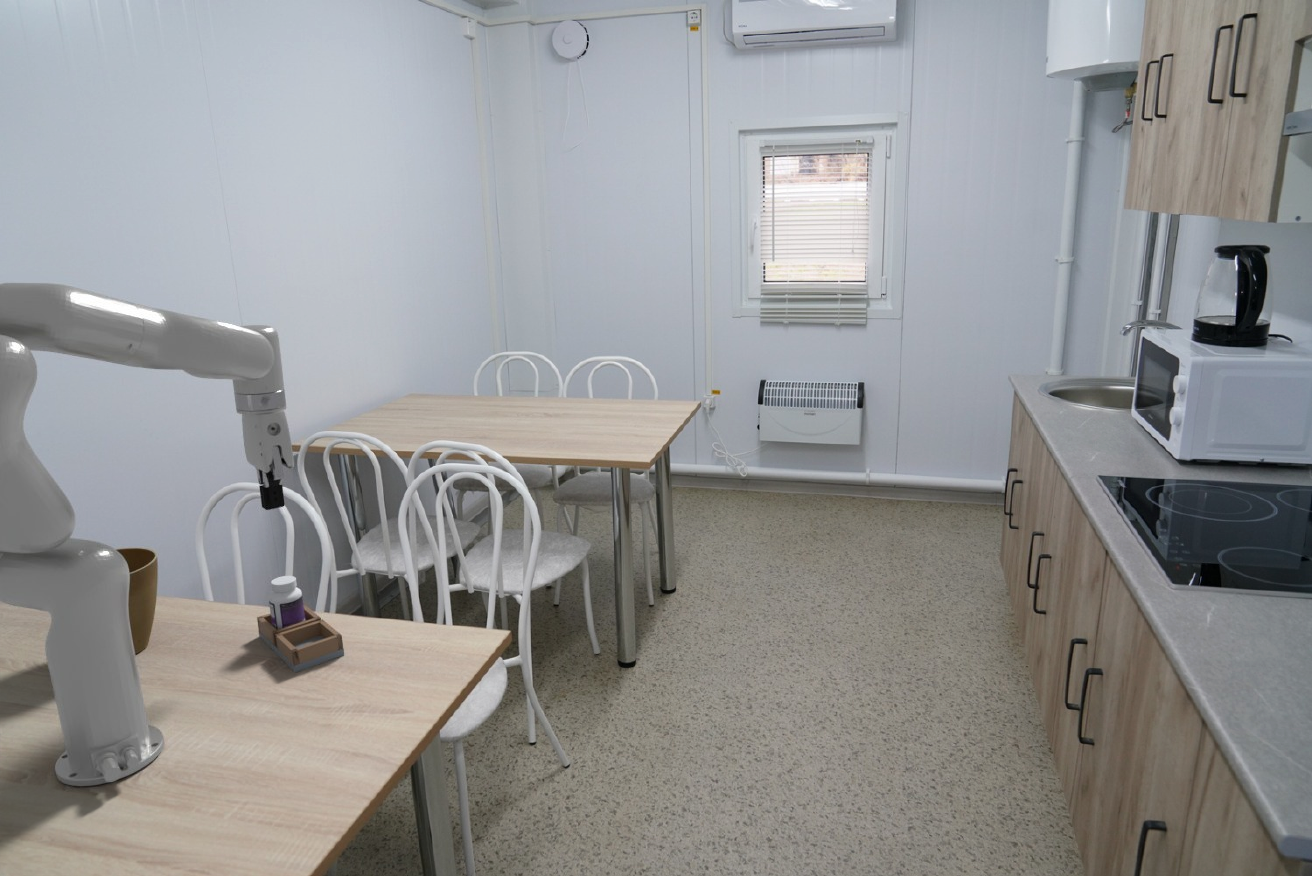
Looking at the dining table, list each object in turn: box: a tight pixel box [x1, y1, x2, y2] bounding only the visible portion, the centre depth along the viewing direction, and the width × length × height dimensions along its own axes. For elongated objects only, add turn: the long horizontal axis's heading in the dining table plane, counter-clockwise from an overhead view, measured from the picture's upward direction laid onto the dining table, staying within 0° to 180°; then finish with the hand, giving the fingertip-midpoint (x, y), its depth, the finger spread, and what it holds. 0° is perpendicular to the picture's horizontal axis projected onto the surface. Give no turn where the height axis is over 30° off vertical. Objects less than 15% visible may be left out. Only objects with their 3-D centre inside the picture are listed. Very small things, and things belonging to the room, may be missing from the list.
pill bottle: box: [268, 575, 305, 630], centre depth 147 cm, size 5×5×10 cm
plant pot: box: [114, 547, 159, 655], centre depth 143 cm, size 15×15×16 cm
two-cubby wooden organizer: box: [256, 603, 345, 673], centre depth 145 cm, size 17×8×4 cm, turn 43°
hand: (273, 507), depth 142 cm, fingers closed
